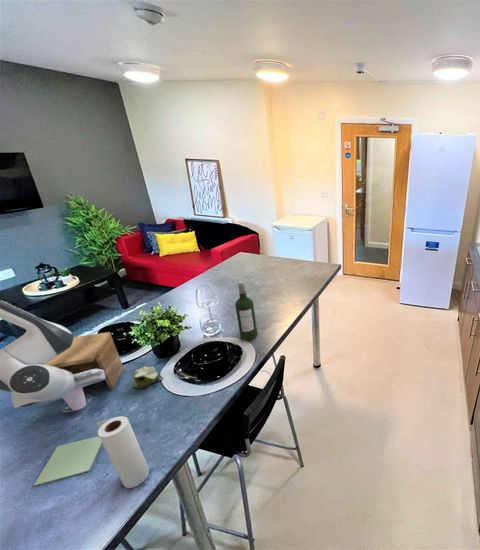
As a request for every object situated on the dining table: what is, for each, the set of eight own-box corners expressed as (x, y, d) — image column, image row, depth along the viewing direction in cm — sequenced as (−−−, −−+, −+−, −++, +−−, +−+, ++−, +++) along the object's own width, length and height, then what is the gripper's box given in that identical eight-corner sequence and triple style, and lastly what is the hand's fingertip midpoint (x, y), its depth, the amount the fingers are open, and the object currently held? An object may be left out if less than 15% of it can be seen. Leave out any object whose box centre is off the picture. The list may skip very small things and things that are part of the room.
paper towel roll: (151, 478, 82) (129, 426, 73) (124, 493, 78) (98, 441, 70) (146, 459, 87) (125, 408, 78) (121, 473, 83) (96, 421, 74)
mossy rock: (148, 395, 110) (137, 382, 106) (131, 390, 113) (120, 377, 109) (168, 375, 117) (159, 362, 113) (152, 371, 120) (142, 358, 116)
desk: (60, 407, 102) (37, 367, 95) (81, 376, 116) (63, 338, 108) (108, 397, 107) (91, 358, 99) (124, 368, 120) (109, 331, 113)
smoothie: (91, 396, 105) (77, 366, 100) (91, 407, 101) (76, 377, 95) (67, 404, 102) (51, 374, 96) (65, 417, 97) (48, 385, 91)
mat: (33, 486, 79) (33, 485, 79) (57, 446, 89) (57, 446, 89) (88, 471, 83) (88, 470, 83) (105, 435, 93) (105, 434, 93)
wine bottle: (254, 329, 149) (246, 277, 137) (259, 336, 144) (252, 283, 131) (238, 334, 144) (229, 281, 132) (243, 342, 139) (234, 287, 127)
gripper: (97, 361, 94) (108, 367, 105) (3, 389, 82) (26, 392, 93) (101, 380, 93) (112, 384, 104) (6, 411, 81) (29, 411, 92)
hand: (70, 388), depth 98 cm, fingers closed on smoothie, 6 cm apart
